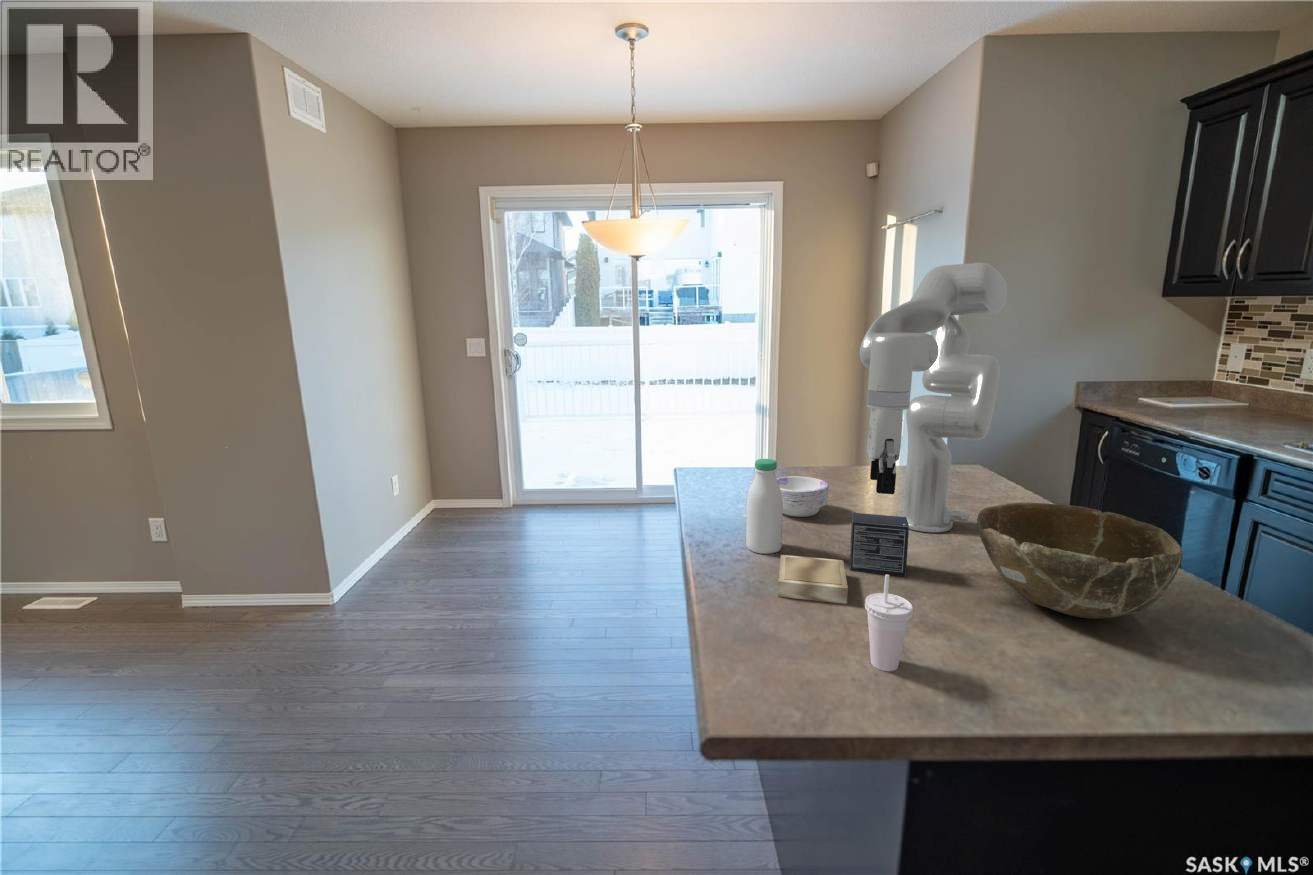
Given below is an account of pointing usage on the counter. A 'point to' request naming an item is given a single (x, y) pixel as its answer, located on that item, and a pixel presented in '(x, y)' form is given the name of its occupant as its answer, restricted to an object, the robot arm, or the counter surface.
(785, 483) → the paper bowls
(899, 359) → the robot arm
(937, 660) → the counter surface
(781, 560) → the base
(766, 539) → the milk bottle
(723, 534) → the counter surface
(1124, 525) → the bowl
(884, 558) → the small box
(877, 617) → the smoothie
